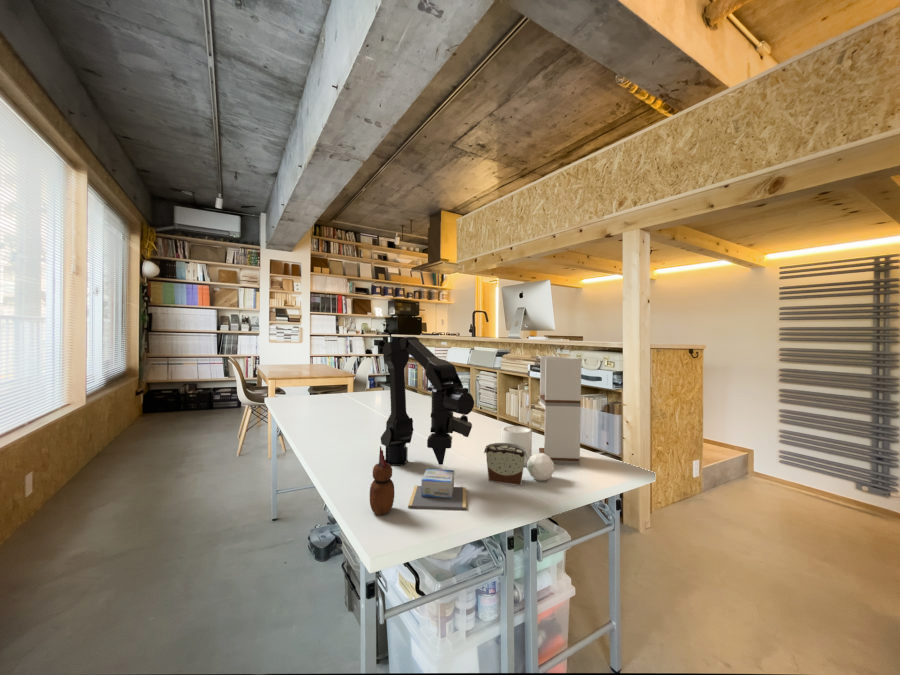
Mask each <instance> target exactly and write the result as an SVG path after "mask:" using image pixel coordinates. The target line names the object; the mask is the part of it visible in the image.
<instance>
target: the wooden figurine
mask: <svg viewBox="0 0 900 675" xmlns="http://www.w3.org/2000/svg"><path fill="white" fill-rule="evenodd" d="M378 456H379V457H378V463H376V464H375V465H373V468H372V479H373V481H372V482H371V484H370V487H369V488H370V489H369V506H370V509H371V511H372V513H374V514H376V515H378V516H382V515H386V514H388V513H390V511H391V510H392V508H393V506H394V501H395V485H394V482H393V481H392V480H391V479H392V477H393V468H392V465H390V464H388V463H386V461H385V458H386V457H385V455H384V450H383V449H382V446H379V455H378Z"/></svg>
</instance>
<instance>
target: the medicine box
mask: <svg viewBox="0 0 900 675" xmlns="http://www.w3.org/2000/svg"><path fill="white" fill-rule="evenodd" d="M421 486H422V487H421V497H439V498H452V493H453V488H454V487H455V470H454V469H435V468H427V469H425V472H424V474H423V476H422V478H421Z"/></svg>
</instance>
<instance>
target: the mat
mask: <svg viewBox="0 0 900 675" xmlns="http://www.w3.org/2000/svg"><path fill="white" fill-rule="evenodd" d="M421 487H422V485H414V487H413V490H412V492H411V496H410V498H409V501H408V502H409V503H408V506H407V508H408V509H423V510H424V509H427V510H428V509H429V510H453V511H455V510H458V511H467V488H466V486H454V488H453V493H452V498H439V497H421Z"/></svg>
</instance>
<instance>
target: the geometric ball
mask: <svg viewBox="0 0 900 675" xmlns="http://www.w3.org/2000/svg"><path fill="white" fill-rule="evenodd" d="M526 466H527V468H526V469H527V471H528V473H529V475H530V476H531V477H532V478H533V479H534V480H536V481H546V480H548V479H550V478H552V475H553V474H554V472H555V464H554V463H553V461H552V460H551V459H550V457H549V456H547V455H546V454H544V453H539V452H537V453H534V454H532V456H530V458H529V460H528V462H527V465H526Z"/></svg>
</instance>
